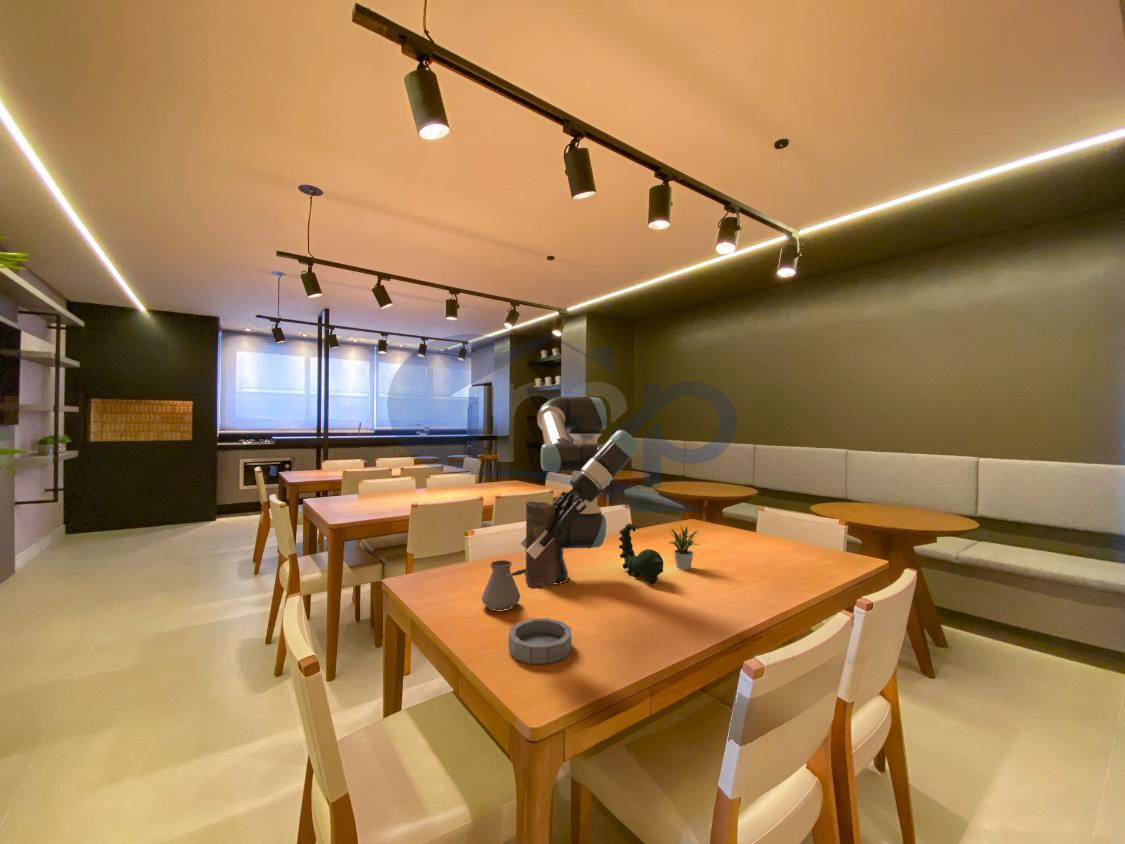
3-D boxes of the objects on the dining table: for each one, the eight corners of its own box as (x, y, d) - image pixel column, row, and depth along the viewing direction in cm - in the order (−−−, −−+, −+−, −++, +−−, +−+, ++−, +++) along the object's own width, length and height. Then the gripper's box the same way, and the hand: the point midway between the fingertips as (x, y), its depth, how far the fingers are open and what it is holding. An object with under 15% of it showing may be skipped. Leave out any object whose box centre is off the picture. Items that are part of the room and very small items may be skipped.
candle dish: (496, 654, 105) (496, 637, 105) (530, 629, 118) (530, 614, 118) (551, 671, 98) (551, 652, 98) (581, 642, 111) (581, 626, 111)
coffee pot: (475, 604, 135) (475, 554, 135) (508, 596, 141) (508, 548, 142) (510, 630, 118) (510, 573, 118) (546, 619, 124) (546, 565, 125)
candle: (525, 579, 112) (526, 499, 112) (554, 578, 112) (555, 499, 112) (525, 590, 104) (526, 505, 104) (557, 589, 105) (557, 504, 105)
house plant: (710, 575, 162) (710, 530, 163) (672, 575, 163) (672, 530, 163) (698, 563, 177) (698, 522, 177) (663, 563, 177) (663, 522, 177)
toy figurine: (614, 573, 169) (652, 589, 146) (611, 523, 171) (649, 531, 148) (635, 570, 173) (675, 586, 150) (633, 521, 174) (672, 528, 152)
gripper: (616, 497, 103) (548, 573, 98) (586, 486, 123) (528, 549, 118) (594, 475, 102) (524, 551, 97) (568, 467, 121) (508, 530, 116)
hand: (527, 550), depth 107 cm, fingers closed on candle, 7 cm apart
